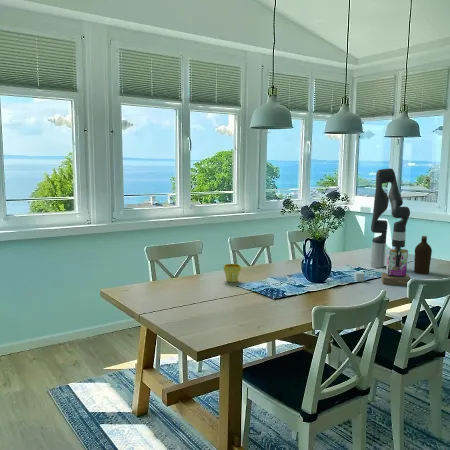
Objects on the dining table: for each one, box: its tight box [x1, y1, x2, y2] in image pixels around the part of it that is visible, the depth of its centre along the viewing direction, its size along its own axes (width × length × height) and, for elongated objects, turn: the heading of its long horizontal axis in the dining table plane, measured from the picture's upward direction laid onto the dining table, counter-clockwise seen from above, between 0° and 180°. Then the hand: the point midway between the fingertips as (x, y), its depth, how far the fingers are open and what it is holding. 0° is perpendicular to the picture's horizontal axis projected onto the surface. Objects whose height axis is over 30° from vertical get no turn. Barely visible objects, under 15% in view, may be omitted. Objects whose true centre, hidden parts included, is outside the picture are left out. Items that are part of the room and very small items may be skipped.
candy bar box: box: [385, 247, 409, 276], centre depth 288 cm, size 11×5×16 cm, turn 84°
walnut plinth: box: [380, 272, 412, 287], centre depth 290 cm, size 14×16×4 cm
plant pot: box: [223, 263, 242, 283], centre depth 286 cm, size 10×10×10 cm
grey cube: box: [353, 271, 366, 282], centre depth 293 cm, size 5×5×5 cm
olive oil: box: [413, 235, 433, 275], centre depth 315 cm, size 11×11×25 cm
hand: (396, 265), depth 289 cm, fingers closed on candy bar box, 5 cm apart
